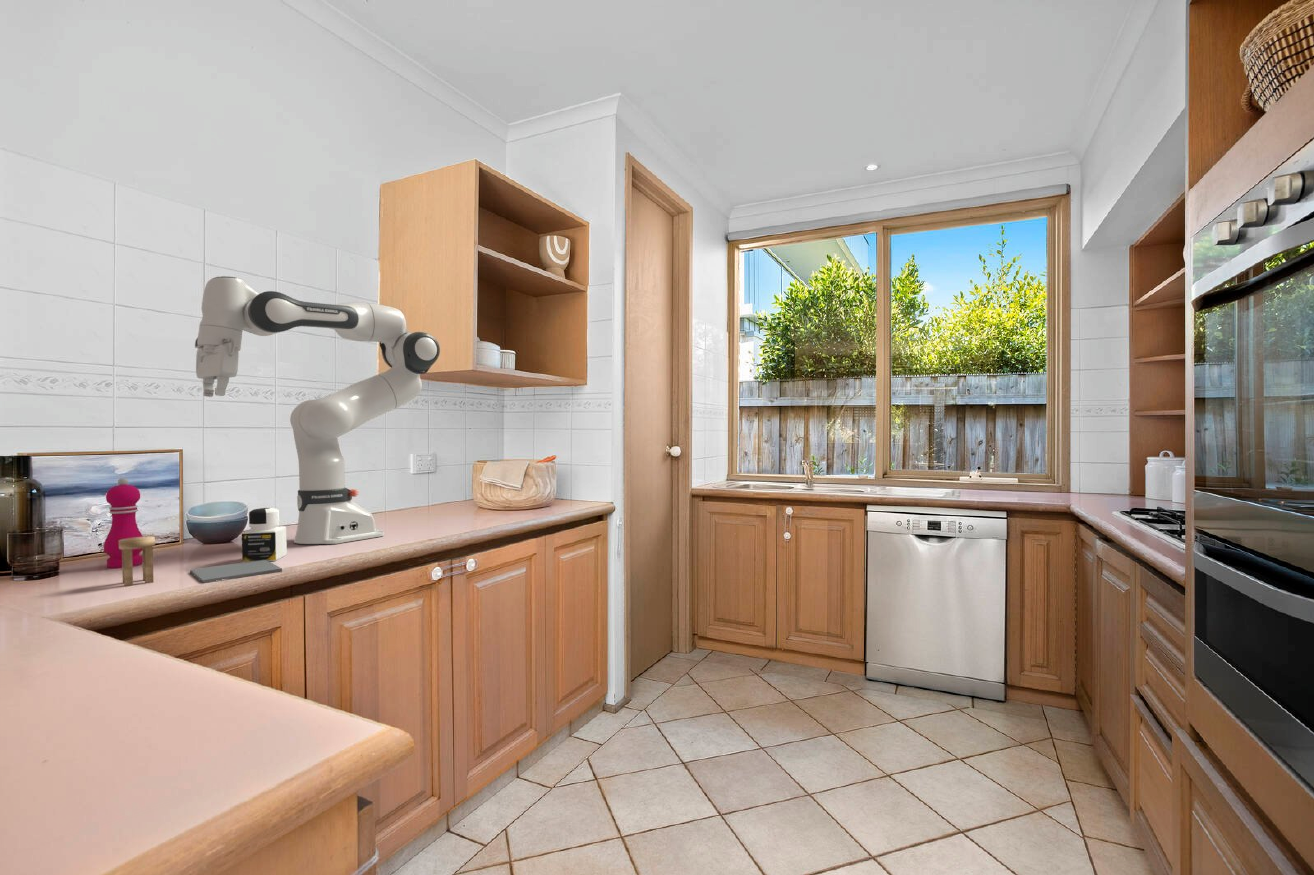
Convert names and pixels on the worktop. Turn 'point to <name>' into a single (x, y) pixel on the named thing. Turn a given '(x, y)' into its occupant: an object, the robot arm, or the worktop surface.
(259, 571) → the mat
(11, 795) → the worktop surface
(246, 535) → the medicine bottle
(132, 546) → the stool
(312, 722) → the worktop surface
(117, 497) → the pepper mill
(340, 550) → the worktop surface
